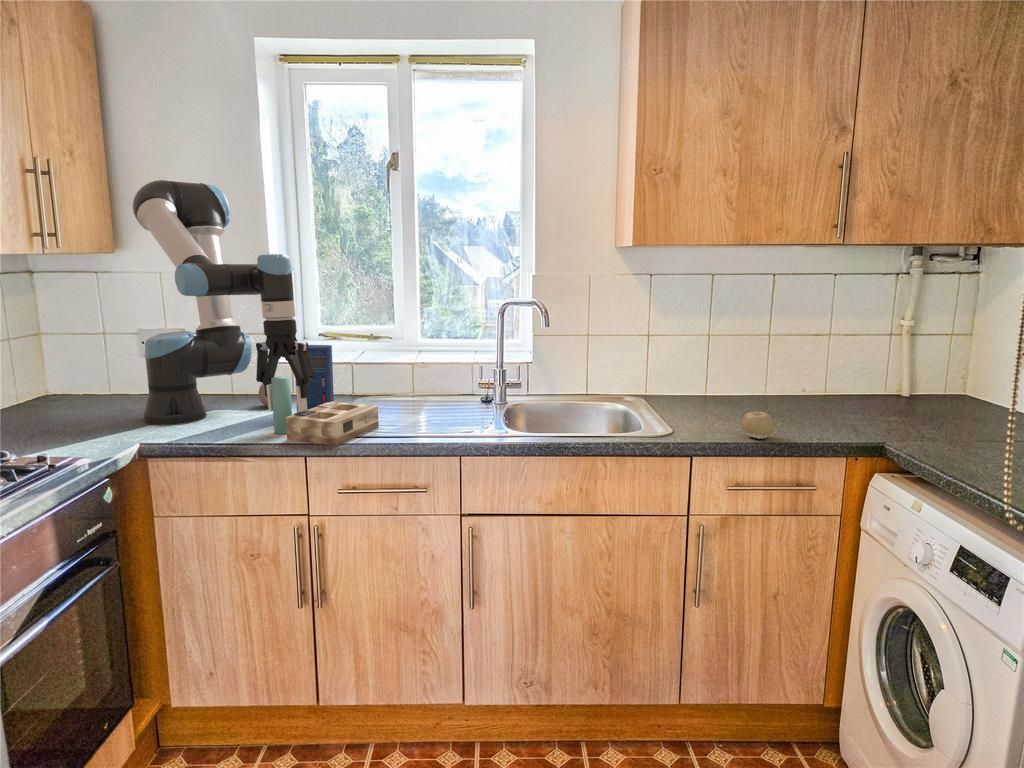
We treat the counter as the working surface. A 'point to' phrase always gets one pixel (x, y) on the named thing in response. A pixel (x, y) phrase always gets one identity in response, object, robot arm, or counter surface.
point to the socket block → (332, 423)
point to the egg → (263, 395)
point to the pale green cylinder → (281, 403)
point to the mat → (271, 433)
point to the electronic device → (320, 376)
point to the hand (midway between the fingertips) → (287, 410)
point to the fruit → (757, 423)
